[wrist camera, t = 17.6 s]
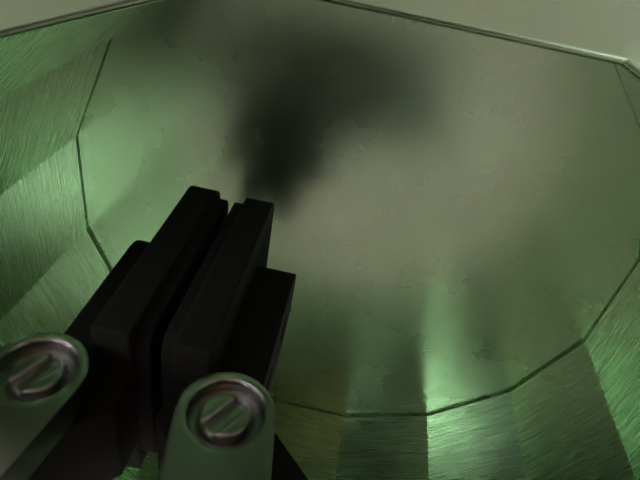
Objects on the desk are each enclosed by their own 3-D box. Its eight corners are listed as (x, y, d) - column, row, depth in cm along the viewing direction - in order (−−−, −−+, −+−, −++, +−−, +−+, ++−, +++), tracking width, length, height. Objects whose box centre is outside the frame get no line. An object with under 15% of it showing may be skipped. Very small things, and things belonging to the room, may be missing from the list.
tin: (89, 359, 17) (-69, 594, 12) (7, -210, 9) (-744, -375, 3) (518, 459, 17) (572, 749, 11) (868, -29, 8) (1809, 161, 3)
